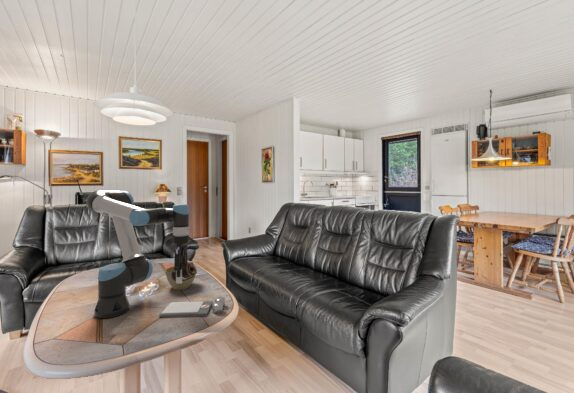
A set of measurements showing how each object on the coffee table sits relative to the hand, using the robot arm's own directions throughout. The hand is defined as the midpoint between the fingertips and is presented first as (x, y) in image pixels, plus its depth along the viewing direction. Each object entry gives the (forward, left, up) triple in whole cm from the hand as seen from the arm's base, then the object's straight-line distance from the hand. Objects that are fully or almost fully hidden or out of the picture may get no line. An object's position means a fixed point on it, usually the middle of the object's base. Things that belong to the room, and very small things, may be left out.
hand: (181, 280), depth 139 cm
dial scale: (+3, 0, -15) cm, 15 cm away
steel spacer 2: (+19, -3, -15) cm, 24 cm away
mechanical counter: (+1, 0, -1) cm, 1 cm away
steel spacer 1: (+19, +4, -15) cm, 24 cm away
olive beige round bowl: (-10, +33, -15) cm, 38 cm away
